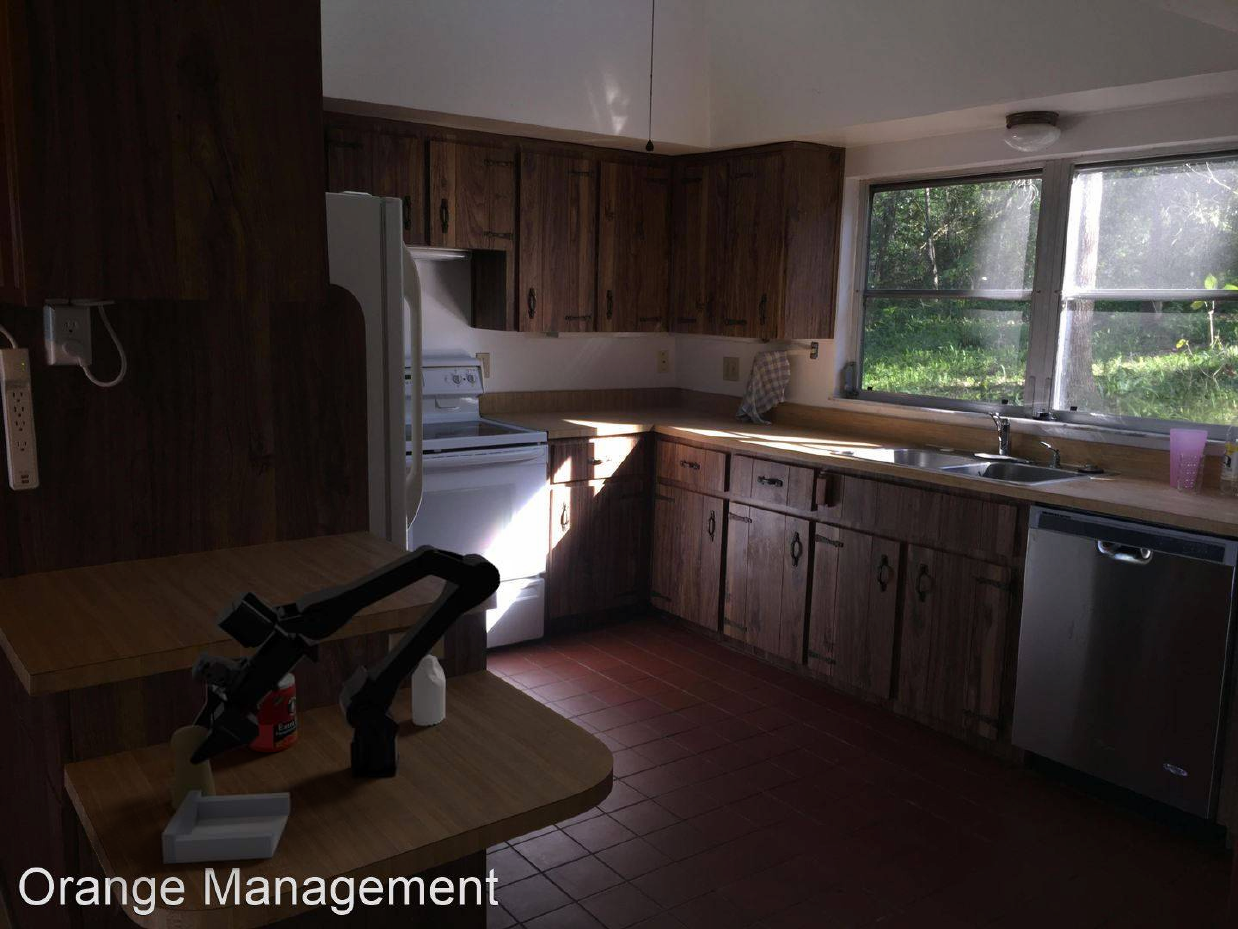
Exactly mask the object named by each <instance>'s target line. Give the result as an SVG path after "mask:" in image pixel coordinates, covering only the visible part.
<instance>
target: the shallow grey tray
mask: <svg viewBox="0 0 1238 929" xmlns="http://www.w3.org/2000/svg"><path fill="white" fill-rule="evenodd" d="M290 794H291V793H290V792H275V793H254V794H252V793H251V794H233V795H232V794H231V795H216V796H207V797H201V790H192V791H189V793H188V794H187V796H186V797H185V799H184V800H183V802H182V804H181V805H180V807H179V808H178V810H176V812H175V813H174V815H173V816H172V818H171V819H170V821H169V822H168V824H167V826H166V827H165V829H164V830H163V832H162V833H161V839H162V840H161V841H162V857H163V858H162V859H163V865H164V864H179V863H181V864H182V863H184V864H185V863H199V862H213V861H214V862H217V861H232V860H234V861H235V860H252V859H270V858H273V856H274V853H275V851H276V849H277V846H278V844H279V842H280V839H281V836H282V834H283V832H284V830H285V826H286V825H285V824H287V822H288V820H287V819H289V817H290V815H291V796H290ZM289 814H290V815H289ZM288 816H289V817H288Z"/></svg>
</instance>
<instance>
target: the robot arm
mask: <svg viewBox="0 0 1238 929" xmlns="http://www.w3.org/2000/svg"><path fill="white" fill-rule="evenodd" d="M428 576H434V577H437V578H439V579H441V580H444V581H445V583H444V586H443V588H442V590H441V593H440V594H439V596H438V597H437V599H436V600H435V601H434V602H433V603H432V604H431V605H430V606H429V607H428V608H427V609H426V610H425V612H424V613H423V614H422V615H421V616H420V617H419V619H417V621H416V622H414V624H413V625H412V626H411V628H410V629H408V631H407V632H406V633H405V634H404V635H403V636H402V637H401V639H399V641H398V642H397V643H396V644H395V645H394V646H393V648H392V649H390V651H389V652H388V653H387V654H386V655H385V656H384V657H383V659H382V660H381V661H379V663H378V664H376V665H375V666H373V667H371V668H368V669H365V667H364V666H363V665H361V664H360V665H359V666H358V667H357V668H356V670H355V671H354V673H353V674H352V675H351V676H350V677H349V678H348V679H347V680H346V681H344V682H342V686H343V689H342V690H341V691H340V694H339V698H338V699H339V705H340V708H341V711H342V713H343V715H344V718H345V719H346V722H347V724H348V725H349V726H350V727H351V728H353V729H354V732H353V736H352V738H351V740H350V743H349V751H350V768H351V769H352V777H353V778H361V777H362V778H363V777H365V778H366V777H381V776H382V777H387V776H395V775H396V774H397V772H398V766H399V763H400V762H399V761H400V754H398V733H399V730H400V724H399V722H398V720H397V718H396V717H395V715H394V713H393V712H392V710H391V707H392V706H393V703H394V700H395V697H396V695H397V693H398V690H399V687H400V686H401V684H402V683H403V682H404V681H405V680H406V679H407V677H408V676H409V675H410V673H412V671H413V670H414V669H415V668H416V667H418V666H419V664H420V662H421V660H422V659H423V658H425V657H426V656H427V655H428V653H429V652H430V651H431V650H432V649H433V648H434V647H435V646H436V645H437V643H438V642H439V641H440V640H441V639H442V638H443V636H444V635H445V634H446V633H447V632H448V631H449V630H450V628H452V626H453V625H454V624H455V623H456V622H457V621H458V620H459V619H460V618H461V617H462V615H463V614H466V613H467V612H470V611H471V610H473V609H475V608H477V607H479V606H480V605H482V604H483V603H484V602H485V601H487V600H488V599H489V598H490V597H491V596H493V595H494V594H495V593H496V592H497V590H498V589H499V587H500V586H501V573H500V571H499V568H498V567H496V565H495V564H493V563H492V562H491V561H489V559H487V558H485V557H484V556H483V555H482V554H479V553H466V554H465V555H464V554H461V553H457V552H454V551H451V550H445V549H441V548H438V547H437V548H436V547H435V546H432V545H430V544H423V545H419V546H418V547H417V548H416V549H414V550H412V551H410V552H408V553H407V554H405V555H403V556H401V557H398V558H396V559H394V560H392V561H391V562H388V563H386V564H385V565H383V566H381V567H379V568H377V569H374V570H373V571H370V572H369V573H366V574H365V575H362V576H360V577H359V578H357V579H354V580H352V581H350V582H348V583H345V584H342V585H336V586H329V587H325V588H321V589H318V590H315V591H311V592H309V593H305V594H303V595H302V596H301V597H300V598H298V599H297V600H296V601H293V602H290V603H289V602H288V603H284V604H281V605H276V606H270V605H269V604H267V603H266V602H265V601H264V600H263V599H261V598H260V597H259V596H258V594H257V593H255V592H254V591H253V590H252V589H251V588H248V589H246V590H245V591H244V593H241V594H239V595H238V596H236V597H235V598H234V599H233V600H229V602H227V604H226V605H225V606H224V607H223V608H222V609H221V611H220V612H219V613H218V614H217V616H216V618H215V620H214V622H213V625H214V626H215V627H216V628H218V629H219V630H220V631H222V633H224V634H225V635H227V636H228V637H230V638H231V639H232V640H234V641H235V642H236V643H237V644H239V645H240V646H241V647H243V648H244V649H248V648H250V647H251V648H252V649H254V648H257V650H255V652H254V653H253V654H252V655H250V656H249V655H248V654H246V655H244V656H242V657H241V658H240V659H239V660H238V661H235V660H232V659H230V658H227V657H224V656H220V655H218V654H214V653H210V652H207V651H199V653H198V655H197V658H196V660H195V663H194V664H193V666H192V669H191V671H190V672H191V680H192V681H193V682H195V683H198V684H205V688H206V692H205V693H206V700H205V702H204V704H203V706H202V708H201V710H200V711H199V712H198V715H197V716H196V718H195V720H194V722H193V724H192V725H191V726H193V725H198V726H203V727H205V728H206V729H207V730H208V734H207V735H206V736H205V738H204V739H203V741H202V742H201V744H200V745H199V746H198V748H197V749H196V751H195V752H194V754H193V755H192V757H191V758H190V762H191V763H192V764H194V765H197V764H199V763H201V762H203V761H206V760H208V759H209V760H210V759H212V758H214V757H217V756H218V755H222V754H223V753H226V752H228V751H231V750H233V749H235V748H238V747H245V746H246V745H247V746H249V745H251V744H252V743H253V741H254V740H255V739H256V738H257V737H258V736H259V724H258V721H257V717H255V716H254V715H256V714H257V713H258V712H259V711H260V707H259V705H260V704H261V703H262V702H263V700H264V699H265V698H266V697H267V696H268V695H269V694H270V693H271V692H272V691H273V692H274V693H275V694H276V693H277V692H278V690H279V689H280V685H279V683H280V682H281V681H282V680H283V679H284V678H285V677H286V675H287V674H288V673H291V671H292V670H293V669H294V668H295V667H296V666H297V665H298V664H299V663H300V661H302V659H303V658H304V657H306V658H308V659H309V660H311V662H312V663H314V664H317V663H319V661H320V659H319V647H320V644H319V642H318V641H322V640H325V639H328V638H329V637H330V636H332V635H333V634H335V633H336V632H338V630H340V629H341V628H343V627H344V626H346V624H348V622H350V620H352V618H354V616H356V615H357V614H358V613H360V612H361V611H362V610H364V609H366V608H367V607H370V606H372V605H373V604H375V603H377V602H379V601H381V600H383V599H385V598H387V597H389V596H391V595H393V594H395V593H396V592H397V593H398V591H401V590H403V589H405V588H407V587H409V586H410V585H413V584H414V583H417V582H418V581H420V580H422V579H424V578H427V577H428ZM302 635H303V636H302ZM307 639H308V640H307ZM248 711H250V712H251V713H252V714H254V715H252V714H251V713H250V712H248Z"/></svg>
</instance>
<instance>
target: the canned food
mask: <svg viewBox="0 0 1238 929" xmlns="http://www.w3.org/2000/svg"><path fill="white" fill-rule="evenodd" d="M279 685H280V689H279V690H278V692H277V693H276V694H275V693H274V692H273V691H272V692H271V693H270V694H269V695H268V696H267V697H266V698H265V699H264V700H263V702H262V703H261V704H260V705H259V707H260V711H259V712H258V713H257V714H256V715H254V714H252V713H251V712H250V711H248V712H250V713H251V714H252V715H254V716H255V717H257V721H258V724H259V736H258V737H257V738H256V739H255V740H254V741H253V743H252V744H251V745H248V746H249V748H250V749H251V750H253V751H255V752H259V753H275V752H281V751H284V750H287V749H289V748H290V747H292V746H293V745H295V744H296V741H297V737H298V726H297V725H298V721H297V720H298V719H297V701H296V700H297V699H296V698H297V694H296V680H295V676H294V675H293V674H292V673H291V672H289V673H288V674H287V675H286V677H285V678H284V679H283V680H282V681H281V682H280V683H279Z"/></svg>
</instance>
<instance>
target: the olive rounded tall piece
mask: <svg viewBox="0 0 1238 929" xmlns="http://www.w3.org/2000/svg"><path fill="white" fill-rule="evenodd" d="M192 725H193V724H192ZM192 725H187V726H183V727H180V728H179V729H177V730H175V731H174V732H173V734H172V736H171V740H170V747H171V749H172V752H173V753H175V762H174V772H173V775H174V776H173V782H172V783H173V784H172V796H171V798H172V799H171V806H172V808H173V809H175V810H176V811H177V810H178V808H179V807H180V805H181V804H182V802H183V800H184V799H185V797H186V796H187V794H188V793H189V791H192V790H201V797H207V796H217V792H216V788H215V782H214V777H213V773H212V768H211V763H210V759H208V760H206V761H203V762H201V763H199V764H197V765H194V764H192V763H191V762H190V758H191V757H192V755H193V754H194V752H195V751H196V749H197V748H198V746H199V745H200V744H201V742H202V741H203V739H204V738H205V736H206V735H207V734H208V732H209V730H207V729H206V728H205V727H203V726H198V725H193V726H192Z"/></svg>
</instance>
